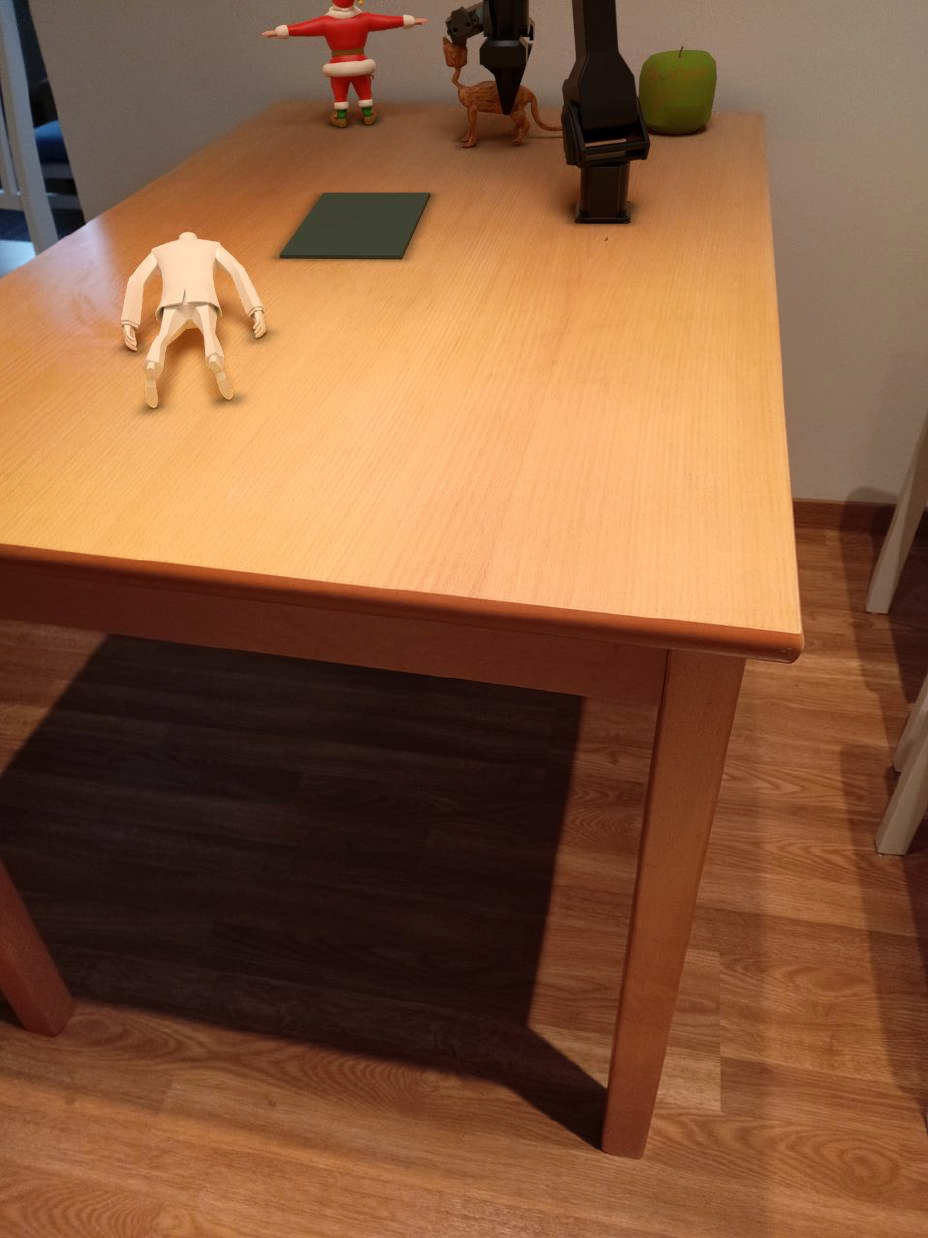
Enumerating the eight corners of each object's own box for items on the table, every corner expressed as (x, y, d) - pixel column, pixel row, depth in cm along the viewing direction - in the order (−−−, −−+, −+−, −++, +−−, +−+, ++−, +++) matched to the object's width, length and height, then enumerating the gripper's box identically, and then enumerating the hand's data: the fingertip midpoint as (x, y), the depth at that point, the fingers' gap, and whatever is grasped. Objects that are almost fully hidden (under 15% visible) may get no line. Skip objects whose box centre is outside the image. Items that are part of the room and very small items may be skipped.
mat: (402, 258, 109) (401, 255, 109) (279, 257, 111) (279, 254, 110) (430, 195, 126) (430, 192, 125) (323, 195, 127) (323, 192, 127)
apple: (689, 115, 150) (698, 34, 143) (725, 132, 143) (735, 47, 136) (623, 124, 148) (628, 42, 141) (655, 142, 140) (662, 56, 133)
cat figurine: (566, 131, 146) (569, 25, 137) (573, 143, 141) (576, 34, 132) (446, 138, 146) (441, 32, 137) (448, 150, 141) (444, 42, 132)
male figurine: (274, 413, 87) (263, 269, 103) (263, 353, 82) (253, 212, 98) (117, 431, 85) (131, 282, 101) (96, 371, 81) (114, 224, 97)
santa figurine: (429, 111, 158) (422, -27, 146) (436, 120, 154) (429, -21, 141) (273, 127, 154) (253, -14, 142) (277, 136, 150) (255, -8, 138)
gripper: (456, -30, 139) (461, 92, 149) (438, -8, 125) (444, 126, 135) (535, -32, 137) (534, 91, 147) (526, -10, 123) (525, 125, 133)
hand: (508, 108), depth 141 cm, fingers closed on cat figurine, 6 cm apart
